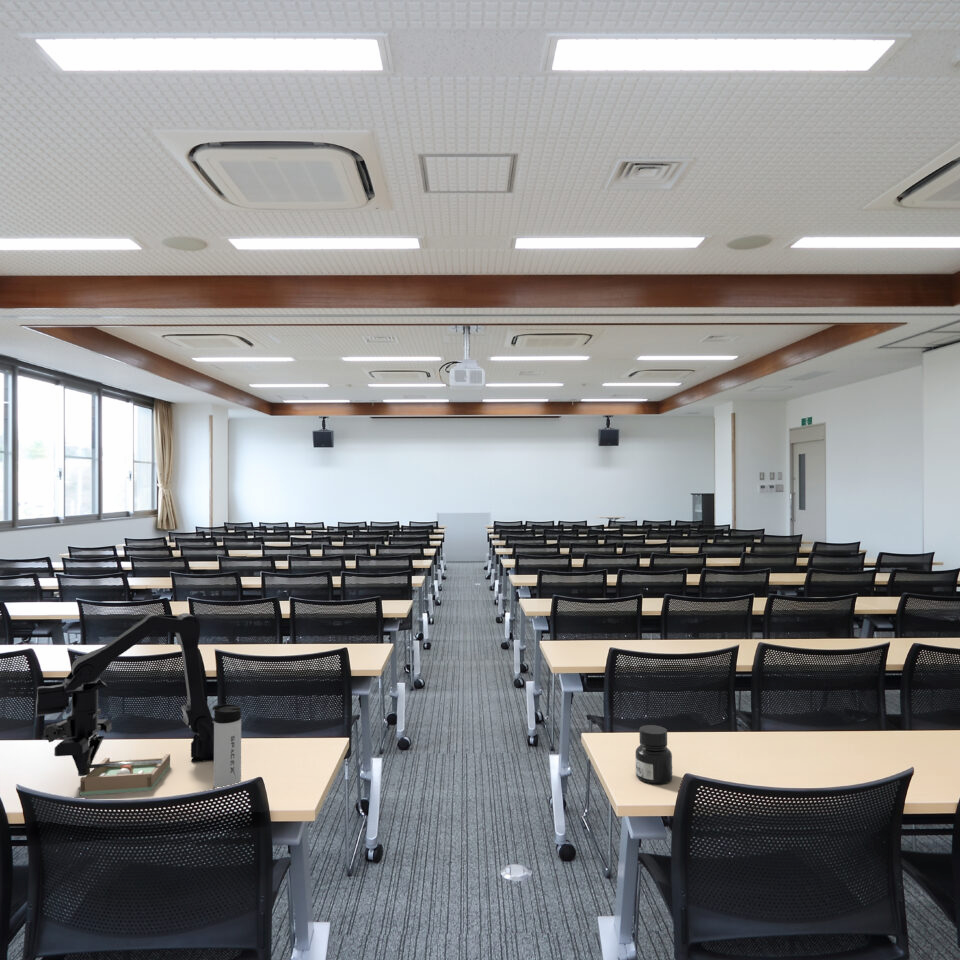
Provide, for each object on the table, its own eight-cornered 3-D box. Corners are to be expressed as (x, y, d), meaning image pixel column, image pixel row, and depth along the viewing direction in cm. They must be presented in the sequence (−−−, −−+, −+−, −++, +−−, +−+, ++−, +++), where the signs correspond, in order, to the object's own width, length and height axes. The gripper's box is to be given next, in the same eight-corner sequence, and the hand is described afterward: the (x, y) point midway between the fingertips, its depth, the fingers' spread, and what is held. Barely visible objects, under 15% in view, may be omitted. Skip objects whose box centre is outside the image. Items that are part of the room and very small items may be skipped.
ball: (131, 764, 167) (126, 775, 164) (133, 773, 169) (129, 784, 166) (117, 765, 167) (112, 776, 164) (119, 774, 168) (115, 785, 165)
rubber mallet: (162, 772, 171) (163, 746, 171) (159, 776, 169) (159, 750, 169) (80, 777, 168) (81, 751, 168) (76, 781, 166) (76, 755, 166)
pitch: (170, 766, 178) (170, 751, 178) (151, 790, 163) (151, 773, 163) (105, 770, 175) (105, 755, 175) (80, 795, 160) (80, 778, 161)
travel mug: (216, 783, 166) (217, 702, 167) (243, 782, 167) (244, 701, 168) (208, 794, 160) (209, 710, 161) (237, 793, 161) (237, 709, 161)
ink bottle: (630, 770, 172) (630, 723, 173) (664, 769, 173) (663, 722, 173) (642, 786, 163) (642, 736, 163) (678, 785, 163) (677, 735, 164)
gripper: (67, 699, 176) (66, 759, 175) (30, 722, 157) (29, 789, 157) (112, 697, 177) (112, 756, 177) (81, 719, 159) (81, 786, 158)
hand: (84, 771), depth 167 cm, fingers closed on rubber mallet, 3 cm apart
